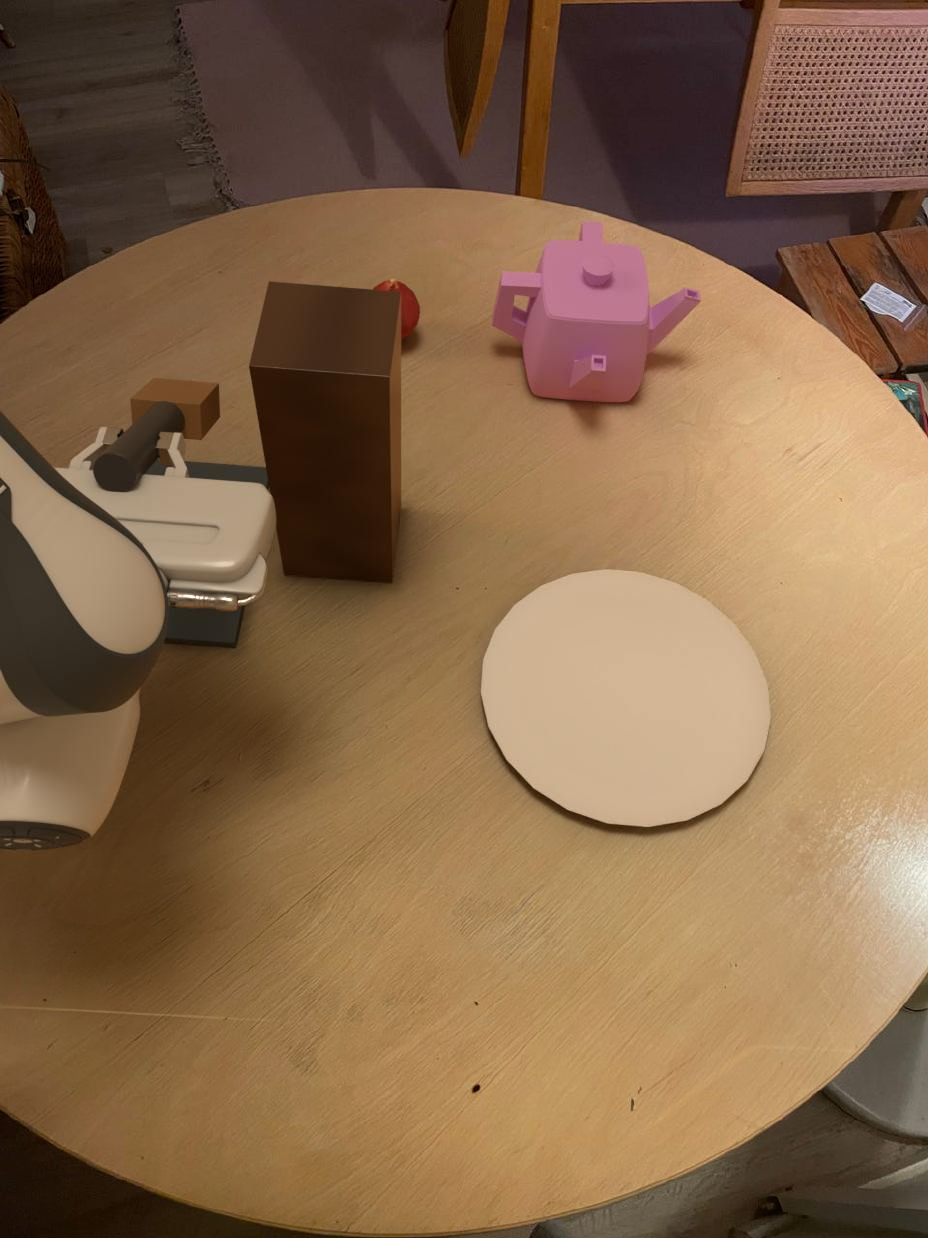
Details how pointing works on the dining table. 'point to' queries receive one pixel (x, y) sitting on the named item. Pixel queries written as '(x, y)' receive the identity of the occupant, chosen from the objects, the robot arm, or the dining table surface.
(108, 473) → the brown block with handle
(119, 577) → the robot arm
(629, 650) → the plate
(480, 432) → the dining table surface
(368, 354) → the post
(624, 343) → the teakettle
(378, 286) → the onion
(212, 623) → the felt mat
